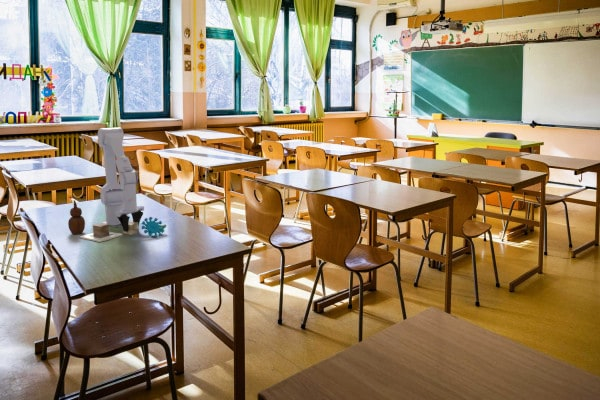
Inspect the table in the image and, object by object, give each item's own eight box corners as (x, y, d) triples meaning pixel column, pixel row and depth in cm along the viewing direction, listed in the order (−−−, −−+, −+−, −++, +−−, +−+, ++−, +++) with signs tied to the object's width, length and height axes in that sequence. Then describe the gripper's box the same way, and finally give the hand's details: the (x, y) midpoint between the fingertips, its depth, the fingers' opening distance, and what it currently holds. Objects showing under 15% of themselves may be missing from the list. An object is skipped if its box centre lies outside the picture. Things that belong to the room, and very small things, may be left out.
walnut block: (102, 233, 237) (101, 222, 237) (109, 234, 235) (108, 224, 234) (93, 235, 234) (92, 225, 233) (100, 237, 231) (100, 226, 231)
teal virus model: (145, 236, 230) (140, 215, 235) (140, 243, 234) (135, 223, 239) (169, 235, 237) (164, 216, 242) (164, 242, 241) (159, 223, 246)
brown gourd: (78, 235, 236) (76, 201, 233) (66, 234, 237) (64, 200, 234) (87, 231, 242) (85, 198, 239) (76, 230, 243) (73, 197, 240)
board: (102, 231, 243) (102, 229, 242) (122, 235, 237) (122, 233, 237) (79, 237, 232) (79, 236, 232) (99, 242, 227) (99, 240, 226)
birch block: (131, 231, 244) (130, 221, 243) (138, 232, 242) (138, 222, 241) (123, 233, 240) (123, 223, 239) (131, 235, 238) (130, 224, 237)
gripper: (123, 203, 230) (124, 234, 233) (148, 197, 242) (150, 227, 245) (111, 201, 233) (113, 232, 236) (136, 195, 246) (138, 225, 248)
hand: (131, 229), depth 241 cm, fingers open, 5 cm apart
